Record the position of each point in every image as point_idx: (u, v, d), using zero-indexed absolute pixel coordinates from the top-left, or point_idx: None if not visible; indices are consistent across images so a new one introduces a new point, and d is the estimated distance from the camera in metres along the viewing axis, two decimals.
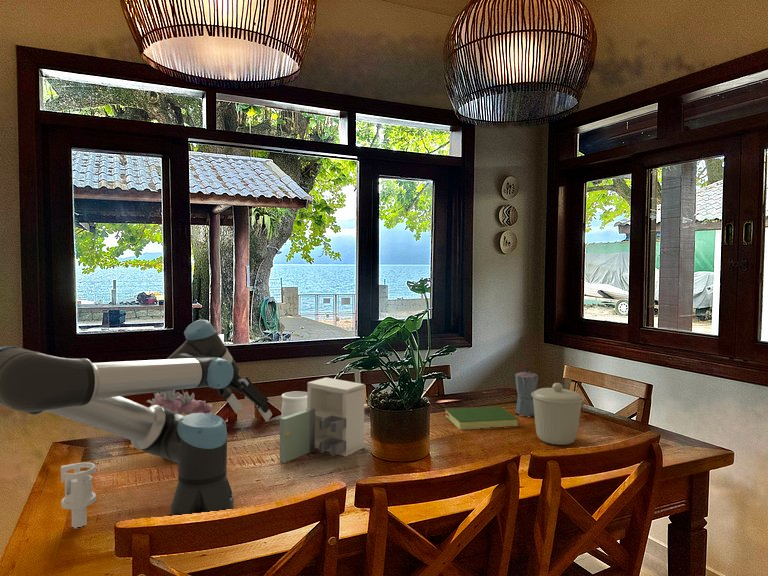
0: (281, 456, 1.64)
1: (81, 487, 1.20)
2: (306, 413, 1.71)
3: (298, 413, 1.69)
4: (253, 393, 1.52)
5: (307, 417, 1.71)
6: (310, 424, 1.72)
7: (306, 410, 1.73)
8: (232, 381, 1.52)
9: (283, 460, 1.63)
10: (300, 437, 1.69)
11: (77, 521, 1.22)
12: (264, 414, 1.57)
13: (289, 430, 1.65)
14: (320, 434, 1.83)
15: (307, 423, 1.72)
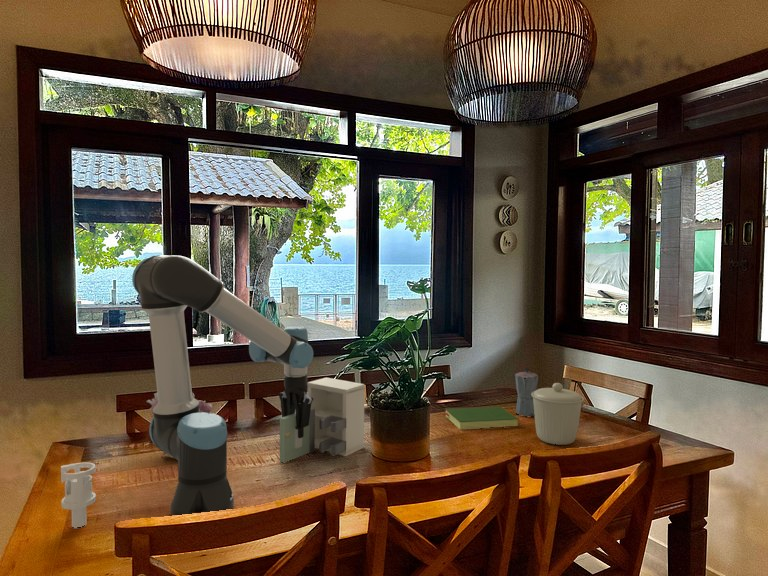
0: (281, 456, 1.64)
1: (81, 487, 1.20)
2: None
3: None
4: (306, 413, 1.64)
5: None
6: (310, 424, 1.72)
7: None
8: (299, 391, 1.65)
9: (283, 460, 1.63)
10: None
11: (77, 521, 1.22)
12: (297, 440, 1.67)
13: (289, 430, 1.65)
14: (320, 434, 1.83)
15: None
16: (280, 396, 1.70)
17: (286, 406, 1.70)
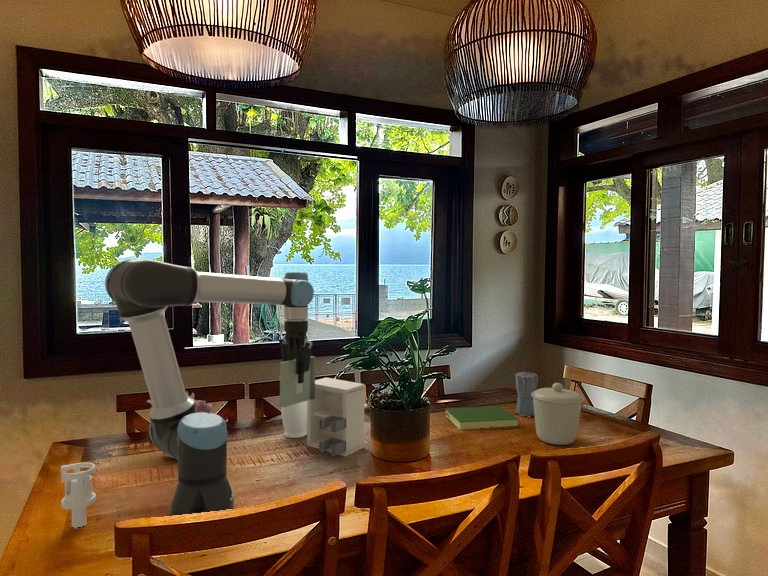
0: (281, 400, 1.63)
1: (81, 487, 1.20)
2: None
3: None
4: (306, 357, 1.64)
5: None
6: (310, 371, 1.72)
7: None
8: (299, 335, 1.64)
9: (283, 404, 1.62)
10: None
11: (77, 521, 1.22)
12: (297, 385, 1.66)
13: (290, 375, 1.64)
14: (320, 434, 1.83)
15: None
16: (280, 342, 1.69)
17: (286, 352, 1.69)
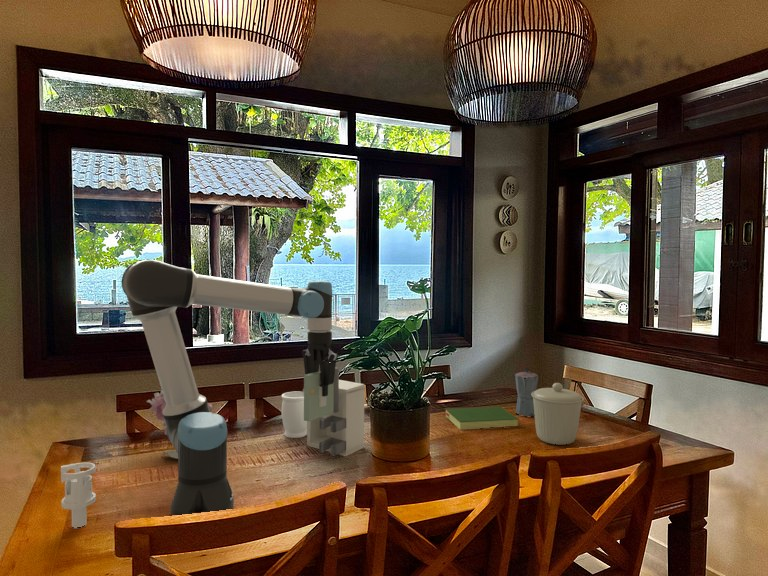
0: (305, 414, 1.58)
1: (81, 487, 1.20)
2: None
3: None
4: (331, 370, 1.58)
5: None
6: (334, 383, 1.66)
7: None
8: (324, 347, 1.59)
9: (307, 418, 1.57)
10: None
11: (77, 521, 1.22)
12: (321, 398, 1.60)
13: (314, 388, 1.58)
14: (320, 434, 1.83)
15: None
16: (303, 354, 1.64)
17: (309, 364, 1.64)
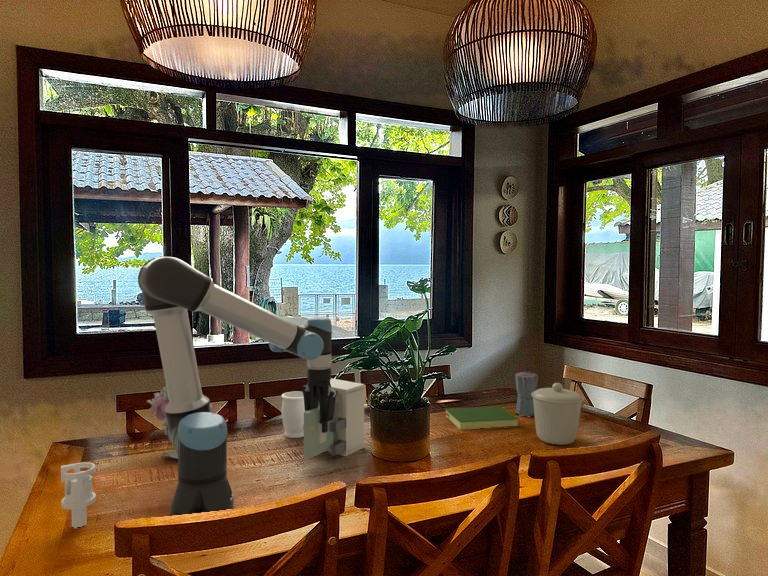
0: (305, 451, 1.58)
1: (81, 487, 1.20)
2: None
3: None
4: (330, 407, 1.59)
5: None
6: (334, 418, 1.67)
7: None
8: (323, 384, 1.59)
9: (307, 455, 1.58)
10: None
11: (77, 521, 1.22)
12: (321, 434, 1.61)
13: (314, 425, 1.59)
14: None
15: None
16: (303, 389, 1.64)
17: (309, 400, 1.65)
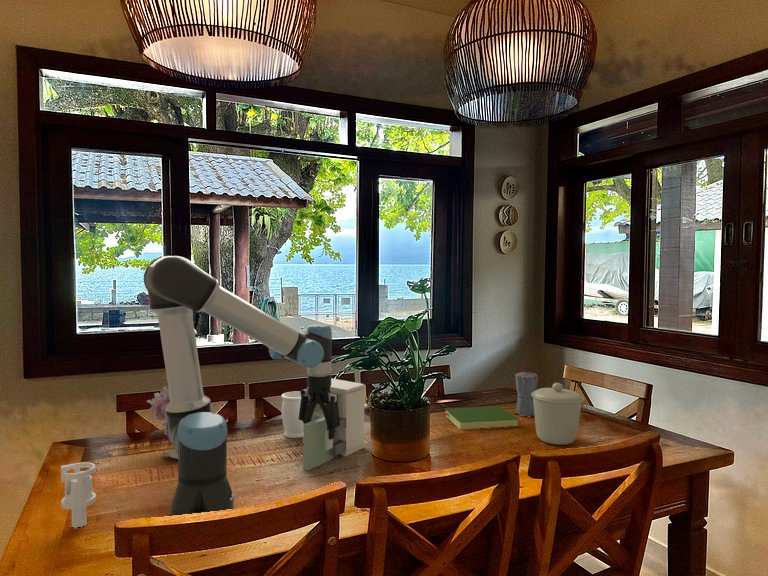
0: (305, 463, 1.58)
1: (81, 487, 1.20)
2: None
3: (322, 419, 1.63)
4: (334, 412, 1.58)
5: None
6: None
7: None
8: (322, 391, 1.60)
9: (307, 467, 1.58)
10: (324, 444, 1.63)
11: (77, 521, 1.22)
12: (328, 441, 1.59)
13: (314, 437, 1.59)
14: None
15: None
16: (302, 393, 1.64)
17: (305, 404, 1.65)
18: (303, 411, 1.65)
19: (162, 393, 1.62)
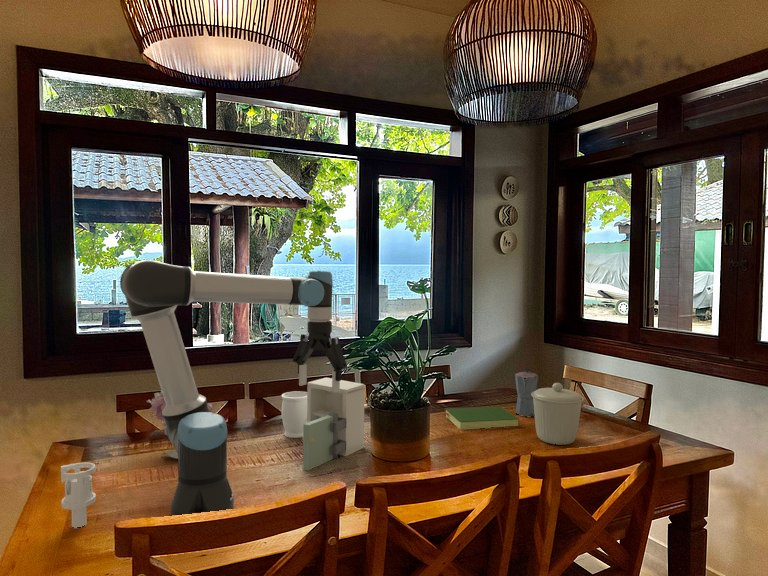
0: (305, 463, 1.58)
1: (81, 487, 1.20)
2: (329, 418, 1.65)
3: (321, 418, 1.63)
4: (338, 353, 1.56)
5: (330, 422, 1.66)
6: None
7: (329, 415, 1.67)
8: (322, 337, 1.59)
9: (307, 467, 1.58)
10: (324, 444, 1.64)
11: (77, 521, 1.22)
12: (335, 383, 1.57)
13: (313, 437, 1.59)
14: None
15: None
16: (301, 338, 1.64)
17: (302, 348, 1.65)
18: (299, 354, 1.65)
19: (162, 393, 1.62)
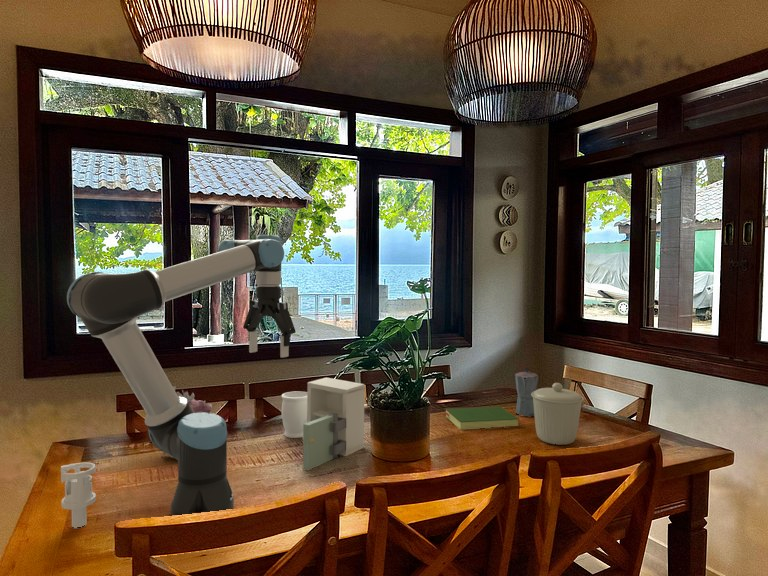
0: (305, 463, 1.58)
1: (81, 487, 1.20)
2: (329, 418, 1.65)
3: (321, 418, 1.63)
4: (286, 318, 1.54)
5: (330, 422, 1.66)
6: None
7: (329, 415, 1.67)
8: (271, 302, 1.57)
9: (307, 467, 1.58)
10: (324, 444, 1.64)
11: (77, 521, 1.22)
12: (283, 348, 1.55)
13: (313, 437, 1.59)
14: None
15: None
16: (251, 304, 1.62)
17: (253, 315, 1.63)
18: (249, 321, 1.63)
19: None
